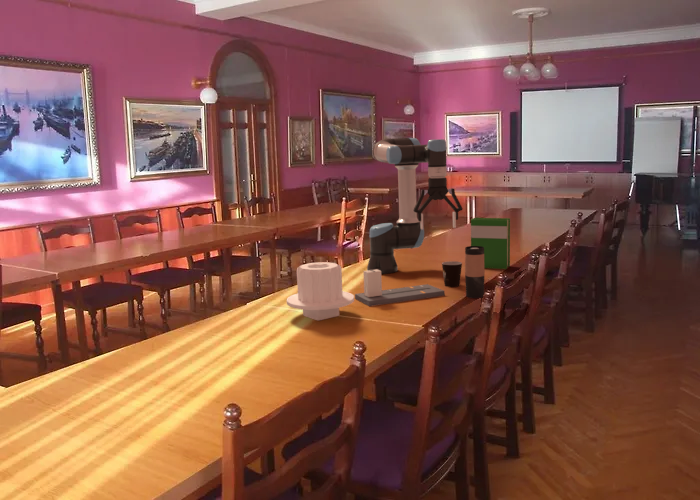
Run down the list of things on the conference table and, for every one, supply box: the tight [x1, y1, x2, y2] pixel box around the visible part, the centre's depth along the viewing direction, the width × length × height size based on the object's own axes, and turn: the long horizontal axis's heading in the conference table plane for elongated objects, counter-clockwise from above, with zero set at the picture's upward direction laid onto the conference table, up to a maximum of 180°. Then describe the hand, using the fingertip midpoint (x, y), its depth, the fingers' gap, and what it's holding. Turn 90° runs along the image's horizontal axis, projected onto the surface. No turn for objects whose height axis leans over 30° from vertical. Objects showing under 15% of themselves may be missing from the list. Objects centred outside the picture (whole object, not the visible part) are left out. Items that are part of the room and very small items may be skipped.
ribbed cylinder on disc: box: [286, 261, 355, 321], centre depth 230 cm, size 25×25×19 cm
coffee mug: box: [441, 260, 463, 288], centre depth 272 cm, size 12×9×10 cm
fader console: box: [354, 283, 445, 307], centre depth 254 cm, size 14×34×2 cm, turn 113°
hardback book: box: [470, 217, 511, 270], centre depth 307 cm, size 18×7×24 cm, turn 65°
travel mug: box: [464, 245, 485, 299], centre depth 250 cm, size 8×8×20 cm
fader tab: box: [362, 269, 383, 297], centre depth 249 cm, size 4×6×10 cm
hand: (438, 228), depth 259 cm, fingers open, 13 cm apart
